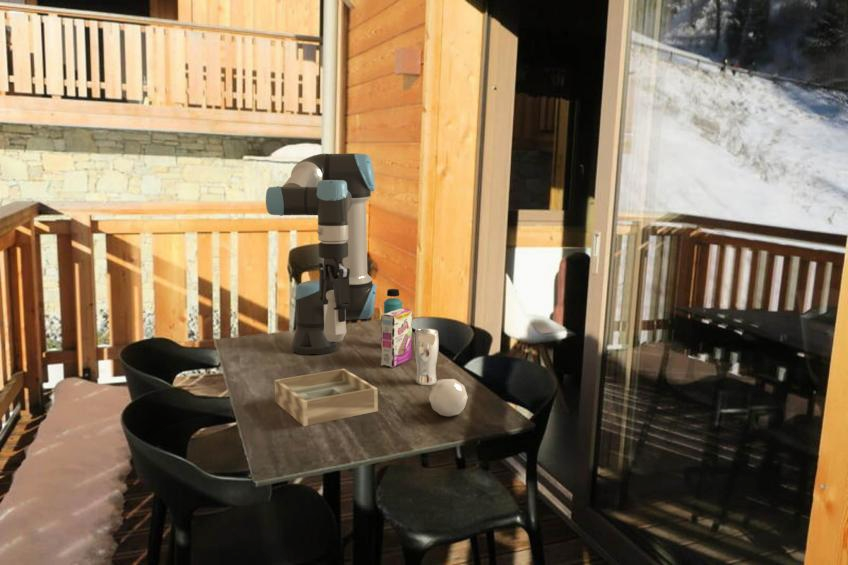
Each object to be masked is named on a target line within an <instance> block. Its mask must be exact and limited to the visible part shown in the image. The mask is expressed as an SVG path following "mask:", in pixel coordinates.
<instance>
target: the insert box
mask: <svg viewBox="0 0 848 565" xmlns="http://www.w3.org/2000/svg"><path fill="white" fill-rule="evenodd" d="M378 393H379V392H378V388H377V387H376V386H374V385H373V384H371V383H369V382H367V381H366V380H365V379H362V378H361V377H359V376H358V375H355V374H354V373H352V372H351V371H349V370H348V369H345V368H339V369H332V370H327V371H320V372H315V373H310V374H309V373H308V374H303V375H297V376H290V377H284V378H278V379H274V400H275V401H274V402H275V403H276V404H277V405H278V406H280V408H282V409H283V410H286V411H285V412H287V413H288V414H289V415H290V416H291V417H292V416H293V418H294V419H295V420H296V421H297V422H298V423H299V424H301V425H302V426H303V427H306V426H312V425H317V424H322V423H326V422H330V421H335V420H341V419H347V418H352V417H356V416H361V415H365V414H370V413H375V412H379V394H378Z"/></svg>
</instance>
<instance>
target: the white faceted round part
mask: <svg viewBox="0 0 848 565" xmlns="http://www.w3.org/2000/svg"><path fill="white" fill-rule="evenodd" d="M428 396H429V397H428V399H429V402H430V405H431V408H432V410H433V411H435V412H436V413H437V414H439V415H440V416H442V417H455V416H457V415H459V414H461V413H462V412H463V411H464V409H465V407H466V404H467V401H468V398H469V397H468V394H467V390H466V386H465V385H464V384H462V383H461V382H459V381H458V380H457V379H455V378H442V379H437V383H435V384H433V385H432V387H431V391H430V394H429V395H428Z"/></svg>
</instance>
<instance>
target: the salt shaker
mask: <svg viewBox="0 0 848 565" xmlns="http://www.w3.org/2000/svg"><path fill="white" fill-rule="evenodd" d="M326 299H327V300H328V306H327V313H326V319H325V325H324V334H325V336H326V339H327V340H328V341H329V342H337V343H339V342H343V340H344V338H345V335H346V334H338V335H336V334H335V312H334V308H335V307H336V303H335V296H334V290H330V291H327V292H326Z"/></svg>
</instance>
